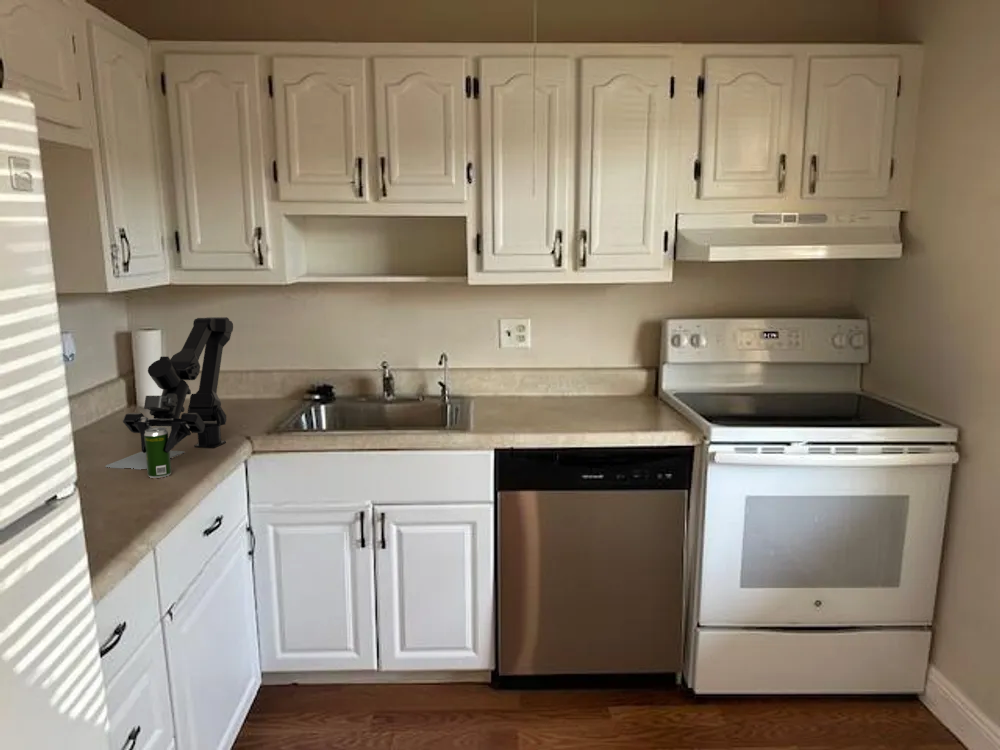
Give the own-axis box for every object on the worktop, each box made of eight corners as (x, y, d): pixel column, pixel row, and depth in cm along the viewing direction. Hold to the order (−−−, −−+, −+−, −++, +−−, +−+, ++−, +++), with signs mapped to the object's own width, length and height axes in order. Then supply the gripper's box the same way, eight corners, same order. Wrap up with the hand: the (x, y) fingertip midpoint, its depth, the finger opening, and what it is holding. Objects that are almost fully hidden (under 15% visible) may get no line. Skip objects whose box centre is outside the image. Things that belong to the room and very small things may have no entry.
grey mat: (147, 451, 198) (147, 449, 198) (184, 453, 196) (184, 451, 196) (105, 467, 182) (105, 465, 182) (146, 469, 180) (145, 467, 180)
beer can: (175, 475, 175) (171, 429, 173) (152, 480, 171) (148, 433, 169) (166, 471, 179) (162, 425, 177) (144, 476, 175) (140, 429, 173)
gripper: (123, 382, 175) (101, 435, 166) (196, 381, 175) (179, 435, 166) (142, 406, 184) (123, 458, 175) (212, 406, 184) (196, 458, 175)
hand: (154, 452), depth 172 cm, fingers closed on beer can, 5 cm apart
